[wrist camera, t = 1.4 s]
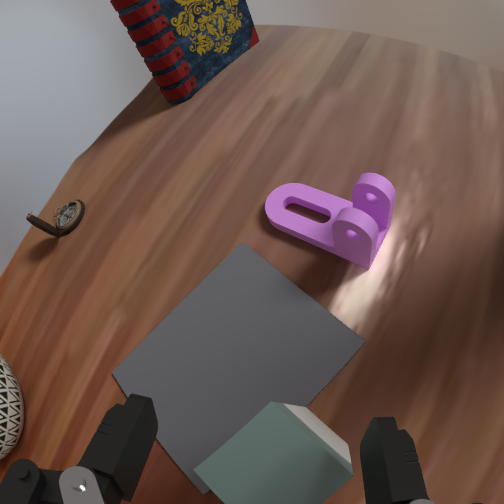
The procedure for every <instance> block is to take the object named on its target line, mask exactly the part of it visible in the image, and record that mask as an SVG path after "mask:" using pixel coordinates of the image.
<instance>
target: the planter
mask: <svg viewBox="0 0 504 504" xmlns="http://www.w3.org/2000/svg"><path fill="white" fill-rule="evenodd" d="M23 424H24V402H23V397H22V393H21V389H20V386H19V383H18V381H17V379H16V376H15V374H14V372H13V370H12V369H11V367H10V366H9V364H8V362H7V361H6V360H5V358H4V357H3V356H2V355H1V354H0V460H1V459H3V458H4V457H6V456H7V455H8V454H9V453H10V452H11V451H12V450H13V448H14V447H15V445H16V444H17V442H18V440H19V438H20V435H21V433H22V429H23Z"/></svg>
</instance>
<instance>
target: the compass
mask: <svg viewBox="0 0 504 504" xmlns="http://www.w3.org/2000/svg"><path fill="white" fill-rule="evenodd" d="M59 208H60V207H59ZM57 209H58V208H57ZM57 209H56V210H57ZM56 210H55V211H56ZM84 210H85V206H84V204H83V202H82V201H81V200H73V201H71V202H69V203H67V204H66V205H65V206H64V207H63V208H62V209H61V208H60V211H57V213H58V215H56V216H57V220H56V228H55V227H53V226H52V225H50V224H48V223H47V222H45V221H43V220H41V219H39V218H37V217H35V216H33V215H31V213H30V214H28V216H27V218H26V219H27V220H28V221H29V222H30V223H31V224H33V225H34V226H36V227H37V228H39V229H41V230H43V231H44V232H46V233H48V234H50V235H53V236H56V237H57V236H59V234H60V233H61V234H65V233H68V232H70V231H72V230H73V229H74V228H75V227H76V226H77V225H78V224H79V222H80V221H81V219H82V217H83V214H84ZM54 213H55V212H54ZM53 215H54V214H53ZM56 216H54V217H56Z"/></svg>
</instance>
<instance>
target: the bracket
mask: <svg viewBox="0 0 504 504" xmlns="http://www.w3.org/2000/svg"><path fill="white" fill-rule="evenodd" d="M352 193H353V202H350V201H347V200H345V199H342V198H339V197H337V196H334V195H331V194H329V193H326V192H323V191H320V190H318V189H315V188H312V187H309V186H306V185H303V184H299V183H289V184H285V185H282V186H280V187H278V188H276V189H275V190H273V191H272V192H271V193H270V195H269V196H268V198H267V200H266V203H265V211H266V214H267V216H268V219H269V221H270V223H271V224H272V225H273V226H274V227H275V228H277V229H278V230H281V231H283V232H285V233H288V234H290V235H292V236H294V237H297V238H299V239H301V240H304V241H306V242H308V243H310V244H313V245H315V246H317V247H319V248H322V249H324V250H326V251H328V252H331V253H333V254H335V255H337V256H340V257H342V258H344V259H346V260H348V261H351V262H353V263H355V264H357V265H359V266H362V267H364V268H366V269H368V270H369V269H370V267H371V265H372V263H373V261H374V259H375V257H376V255H377V253H378V251H379V249H380V247H381V244H382V242H383V240H384V238H385V236H386V234H387V232H388V230H389V228H390V225H391V220H392V214H393V208H394V201H395V189H394V187H393V185H392V184H391V183H390V182H389V181H388V180H387V179H386V178H384V177H383V176H381V175H379V174H376V173H364V174H362V175H361V176H360V177H359V179H358V180H357V182H356V184H355V186H354V187H353V191H352ZM291 203H296V204H299V205H301V206H304V207H307V208H309V209H312V210H314V211H317V212H319V213H322V214H324V215H327V216H329V217H330V218H331V219H330V220H329V221H328V222H326V223H318V222H315V221H313V220H310V219H308V218H305V217H303V216H300V215H298V214H295V213H293V212H290V211H288V210H286V209H285V207H286V206H287V205H289V204H291Z"/></svg>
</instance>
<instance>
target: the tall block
mask: <svg viewBox="0 0 504 504" xmlns="http://www.w3.org/2000/svg"><path fill="white" fill-rule="evenodd" d="M193 470H194V471H195V472H196V473H197V475H198V476H199V477H200V478H201V479H202V480H203V481H204V482H205V483H206V485H207V486H208V487H209V488H210V489H211V490H212V491H213V492H214V493H215V494H216V495H217V496H218V497H219V498H220V499H221V500H222V501H223V503H224V504H321V503H323V502H324V501H325V500H326V499H327V498H329V497H330V496H331V495H332V494H333V493H334V492H336V491H337V490H338V489H339V488H340V487H341V486H342V485H344V484H345V483H346V482H347V481H348V480H349V479H350V478H351V477H352V476H353V470H352V464H351V458H350V453H349V447H348V444H347V443H346V442H345V441H344V440H343V439H341V438H340V437H339V436H338V435H337V434H336V433H334V432H333V431H332V430H331V429H330V428H329V427H328V426H326V425H325V424H324V423H323V422H322V421H321V420H320V419H319V418H317V417H316V416H315V415H314V414H313V413H312V412H311V411H310V410H309V409H307V408H306V407H302V406H296V405H289V404H283V403H278V402H272V401H271V402H270V403H269V404H268V405H267V406H266V407H264V408H263V409H262V410H261V411H260V412H259V413H258V414H257V415H256V416H255V417H254V418H253V419H252V420H251V421H249V422H248V423H247V424H246V425H245V426H244V427H243V428H242V429H241V430H240V431H238V432H237V433H236V434H235V435H234V436H233V437H232V438H230V439H229V440H228V441H227V442H226V443H225V444H224V445H222V446H221V447H220V448H219V449H218V450H217V451H215V452H214V453H213V454H212V455H211V456H209V457H208V458H207V459H206V460H204V461H203V462H202V463H201V464H200V465H198V466H197V467H196V468H195V469H193Z"/></svg>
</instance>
